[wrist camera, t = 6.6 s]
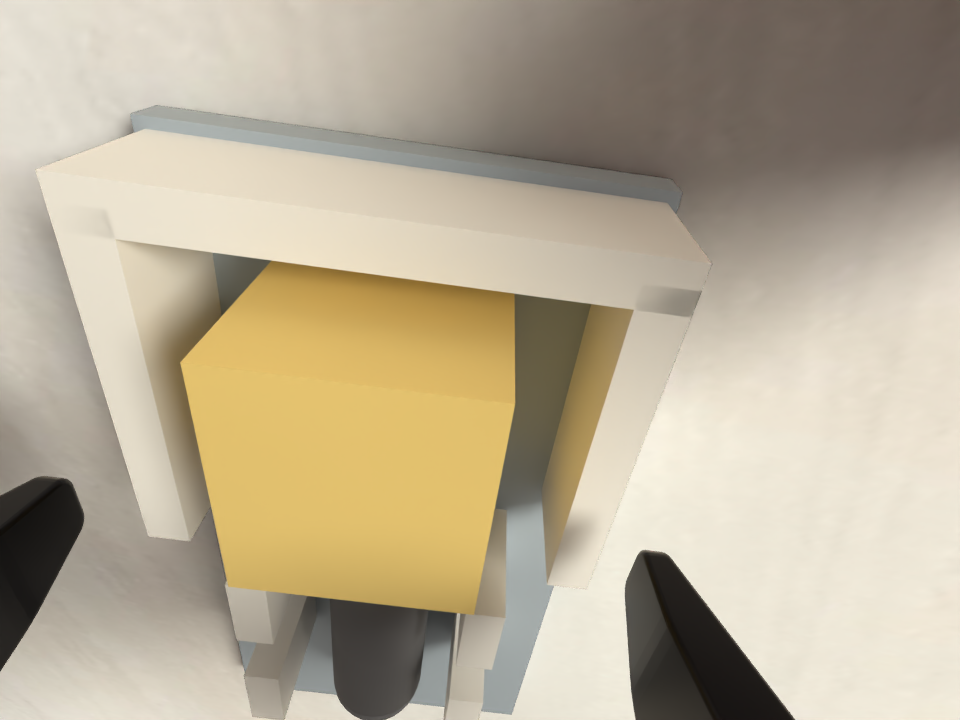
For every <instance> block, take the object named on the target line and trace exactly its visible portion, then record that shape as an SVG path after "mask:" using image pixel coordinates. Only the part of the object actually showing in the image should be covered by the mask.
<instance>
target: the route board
mask: <svg viewBox="0 0 960 720" xmlns="http://www.w3.org/2000/svg"><path fill="white" fill-rule="evenodd" d="M130 115H131V120H132V125H133V130H134V133H132V134H130V135H127V136H124V137H122V138H119V139H116V140H113V141H111V142H108V143H105V144H103V145H100V146H97V147H95V148H92V149H89V150H86V151H84V152H81V153H78V154H76V155H73V156H70V157H67V158H65V159H62V160H59V161H57V162H54V163H51V164H49V165H46V166H43V167H40V168H38V169H35V171H36V174H37V178H38V181H39V184H40V187H41V191H42V194H43V197H44V200H45V204H46V207H47V210H48V213H49V216H50V220H51V223H52V226H53V229H54V233H55V236H56V239H57V242H58V246H59V249H60V252H61V255H62V259H63V262H64V265H65V268H66V272H67V275H68V278H69V281H70V284H71V288H72V291H73V294H74V297H75V301H76V304H77V307H78V310H79V314H80V317H81V320H82V323H83V327H84V330H85V333H86V336H87V340H88V343H89V346H90V349H91V352H92V356H93V359H94V362H95V365H96V369H97V372H98V375H99V378H100V382H101V385H102V388H103V391H104V395H105V398H106V401H107V404H108V408H109V411H110V414H111V417H112V420H113V424H114V427H115V430H116V433H117V437H118V440H119V443H120V446H121V450H122V453H123V456H124V459H125V463H126V466H127V469H128V472H129V476H130V479H131V482H132V485H133V488H134V492H135V495H136V498H137V501H138V505H139V508H140V511H141V514H142V518H143V521H144V524H145V527H146V531H147V534H148V537H156V538H164V539H173V540H181V541H189V542H190V541H191V539H192V537H193V536H194V534H195V532H196V531H197V529H198V527H199V525H200V524H201V522H202V520H203V519H204V517H205V515H206V514H207V512H208V510H209V508H210V507H211V503H210V499H209V494H208V489H207V485H206V480H205V475H204V471H203V466H202V461H201V457H200V452H199V447H198V443H197V438H196V433H195V429H194V424H193V419H192V415H191V410H190V405H189V401H188V396H187V391H186V387H185V382H184V377H183V373H182V368H181V363H180V362H181V361H182V360H183V359H184V358H185V357H186V355H187V354H188V353H189V352H190V351H191V350H192V349H193V348H194V347H195V345H196V344H197V343H198V342H199V341H200V340H201V339H202V338H203V337H204V335H205V334H206V333H207V332H208V331H209V330H210V329H211V328H212V327H213V325H214V324H215V323H216V322H217V321H218V320H219V319H220V318H221V317H222V315H223V314H224V313H225V312H226V311H227V310H228V309H229V308H230V306H231V305H232V304H233V303H234V302H235V301H236V300H237V299H238V298H239V296H240V295H241V294H242V293H243V292H244V291H245V290H246V289H247V288H248V286H249V285H250V284H251V283H252V282H253V281H254V280H255V279H256V278H257V276H258V275H259V274H260V273H261V272H262V271H263V270H264V269H265V268H266V266H267V265H268V264H269V263H270V262H271V261H279V262H286V263H294V264H301V265H308V266H316V267H323V268H330V269H338V270H345V271H352V272H360V273H367V274H374V275H382V276H389V277H396V278H404V279H411V280H418V281H426V282H433V283H440V284H448V285H455V286H462V287H470V288H477V289H484V290H492V291H499V292H506V293H514V298H515V408H514V413H513V418H512V423H511V428H510V433H509V439H508V444H507V449H506V454H505V459H504V464H503V469H502V474H501V479H500V485H499V490H498V495H497V500H496V505H495V510H494V515H493V520H492V525H491V530H490V536H489V541H488V546H487V551H486V556H485V561H484V566H483V571H482V576H481V582H480V587H479V592H478V597H477V602H476V607H475V612H474V615H469V614H461V613H452V612H443V611H435V610H428V617H427V625H426V634H425V643H424V651H423V660H422V668H421V676H420V681H419V684H418V687H417V690H416V692H415V694H414V696H413V698H412V699H411V701H410V702H409V703H414V704H423V705H432V706H440V707H445V709H444V720H479V717H480V713H481V711H484V712H493V713H502V714H510V715H512V712H513V709H514V706H515V703H516V700H517V697H518V693H519V690H520V687H521V684H522V681H523V678H524V675H525V672H526V669H527V666H528V663H529V660H530V657H531V654H532V651H533V648H534V645H535V642H536V639H537V636H538V633H539V630H540V627H541V623H542V620H543V617H544V614H545V611H546V608H547V605H548V602H549V599H550V596H551V593H552V590H553V587H554V586H560V587H569V588H577V589H585V590H587V588H588V586H589V583H590V580H591V578H592V575H593V573H594V570H595V567H596V565H597V562H598V560H599V557H600V554H601V552H602V549H603V547H604V544H605V541H606V539H607V536H608V534H609V531H610V528H611V526H612V523H613V521H614V518H615V515H616V513H617V510H618V508H619V505H620V502H621V500H622V497H623V495H624V492H625V489H626V487H627V484H628V482H629V479H630V476H631V474H632V471H633V469H634V466H635V463H636V461H637V458H638V456H639V453H640V450H641V448H642V445H643V443H644V440H645V437H646V435H647V432H648V430H649V427H650V424H651V422H652V419H653V417H654V414H655V411H656V409H657V406H658V404H659V401H660V398H661V396H662V393H663V391H664V388H665V385H666V383H667V380H668V378H669V375H670V372H671V370H672V367H673V365H674V362H675V360H676V357H677V354H678V352H679V349H680V347H681V344H682V341H683V339H684V336H685V334H686V331H687V328H688V326H689V323H690V321H691V318H692V315H693V313H694V310H695V308H696V305H697V302H698V300H699V297H700V295H701V292H702V289H703V287H704V284H705V282H706V279H707V276H708V274H709V271H710V269H711V266H712V263H711V261H710V260H709V259H708V257H707V256H706V255H705V253H704V252H703V250H702V249H701V248H700V246H699V245H698V244H697V242H696V241H695V240H694V238H693V237H692V236H691V234H690V233H689V232H688V230H687V229H686V227H685V226H684V225H683V223H682V222H681V221H680V219H679V218H678V217H677V215H676V213H677V210H678V207H679V204H680V200H681V197H682V194H683V192H682V191H681V190H680V188H679V187H678V186H677V185H676V184H675V183H674V181H673V180H672V179H668V178H661V177H654V176H647V175H640V174H633V173H626V172H619V171H612V170H605V169H598V168H591V167H584V166H577V165H570V164H563V163H556V162H549V161H542V160H535V159H528V158H521V157H514V156H507V155H500V154H493V153H486V152H479V151H472V150H465V149H458V148H451V147H444V146H437V145H430V144H423V143H416V142H409V141H403V140H396V139H389V138H382V137H375V136H368V135H361V134H354V133H347V132H340V131H333V130H326V129H319V128H312V127H305V126H298V125H291V124H284V123H277V122H270V121H263V120H256V119H249V118H242V117H235V116H228V115H221V114H214V113H207V112H200V111H193V110H186V109H179V108H172V107H165V106H158V105H156V106H153V107H150V108H147V109H143V110H140V111H137V112H134V113H131V114H130ZM211 510H212V508H211ZM212 515H213V513H212ZM213 520H214V517H213ZM214 525H215V522H214ZM215 530H216V527H215ZM216 535H217V531H216ZM217 539H218V536H217ZM218 544H219V541H218ZM219 549H220V545H219ZM220 554H221V550H220ZM221 559H222V555H221ZM222 564H223V559H222ZM223 569H224V564H223ZM224 574H225V578H226V573H225V569H224ZM225 588H226V593H227V597H228V602H229V607H230V612H231V617H232V621H233V626H234V631H235V636H236V640H238V642H239V647H240V652H241V656H242V661H243V666H244V671H245V674H244V679H245V684H246V689H247V693H248V698H249V703H250V708H251V713H252V717H259V718H268V719H277V720H284V719H285V716H286V713H287V710H288V707H289V703H290V700H291V697H292V694H293V691H294V690H300V691H309V692H318V693H326V694H335V695H337V693H336V689H335V685H334V676H333V656H332V635H331V615H330V598H322V597H313V596H304V595H296V594H287V593H278V592H270V591H261V590H252V589H244V588H235V587H228V583H227V578H226V583H225Z"/></svg>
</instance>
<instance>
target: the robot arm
mask: <svg viewBox="0 0 960 720" xmlns="http://www.w3.org/2000/svg"><path fill="white" fill-rule="evenodd" d="M83 523H84V512H83V509H82V507H81V504H80V502H79V499H78V497H77V494H76V491H75V489H74V486H73V484H72V483H71V482H70V481H69V480H68V479H64V478H57V477H48V476H41V477H37V478H34V479H32V480H30V481H28V482H26V483H24V484H22V485H20V486H18V487H16V488H14V489H12V490H10V491H9V492H7V493H5V494H3V495H1V496H0V671H1V670H2V668H3V667H4V665H5V664H6V662H7V660H8V659H9V657H10V656H11V654H12V653H13V651H14V650H15V648H16V647H17V645H18V644H19V642H20V641H21V639H22V638H23V636H24V634H25V633H26V631H27V630H28V628H29V626H30V625H31V623H32V621H33V620H34V618H35V616H36V614H37V613H38V611H39V609H40V607H41V605H42V604H43V602H44V600H45V598H46V596H47V594H48V592H49V590H50V588H51V586H52V585H53V583H54V581H55V579H56V577H57V575H58V573H59V571H60V569H61V567H62V566H63V564H64V562H65V560H66V558H67V556H68V554H69V552H70V550H71V548H72V547H73V545H74V543H75V541H76V539H77V537H78V535H79V533H80V531H81V529H82V526H83ZM625 605H626V621H627V636H628V651H629V667H630V680H631V692H632V699H633V706H634V712H635V718H636V720H795V719H794V718H793V716H792V715H791V714H790V712H789V711H788V710H787V708H786V707H785V706H784V705H783V703H782V702H781V701H780V699H779V698H778V697H777V695H776V694H775V693H774V692H773V690H772V689H771V688H770V686H769V685H768V684H767V682H766V681H765V680H764V678H763V677H762V676H761V675H760V673H759V672H758V671H757V669H756V668H755V667H754V665H753V664H752V663H751V662H750V660H749V659H748V658H747V656H746V655H745V654H744V652H743V651H742V650H741V649H740V647H739V646H738V645H737V643H736V642H735V641H734V639H733V638H732V637H731V636H730V634H729V633H728V632H727V630H726V629H725V628H724V626H723V625H722V624H721V623H720V621H719V620H718V619H717V617H716V616H715V615H714V613H713V612H712V611H711V610H710V608H709V607H708V606H707V604H706V603H705V602H704V600H703V599H702V598H701V596H700V595H699V594H698V593H697V591H696V590H695V589H694V587H693V586H692V585H691V583H690V582H689V581H688V580H687V578H686V577H685V576H684V574H683V573H682V572H681V570H680V569H679V568H678V567H677V565H676V564H675V563H674V561H673V560H672V559H671V558H670V556H668V555H667V554H666V553H663V552H657V551H649V550H642V551H641V552H639V554H638V555H637V558H636V560H635V562H634V564H633V567H632V569H631V571H630V573H629V576H628V578H627V581H626V585H625Z"/></svg>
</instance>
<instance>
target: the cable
mask: <svg viewBox="0 0 960 720" xmlns="http://www.w3.org/2000/svg"><path fill="white" fill-rule="evenodd" d="M180 363H181V368H182V373H183V377H184V382H185V387H186V391H187V396H188V401H189V405H190V410H191V415H192V419H193V424H194V429H195V433H196V438H197V443H198V447H199V452H200V457H201V461H202V466H203V471H204V475H205V480H206V485H207V489H208V494H209V499H210V503H211V508H212V513H213V517H214V522H215V527H216V531H217V536H218V541H219V545H220V550H221V555H222V559H223V564H224V569H225V573H226V578H227V583H228V587H235V588H244V589H252V590H261V591H270V592H278V593H287V594H296V595H304V596H313V597H322V598H330V615H331V635H332V656H333V676H334V685H335V689H336V693H337V696H338V698H339V700H340V702H341V704H342V705H343V706H344V707H345V709H346V710H347V711H349V712H350V713H351V714H352V715H354V716H355V717H358V718H360V719H362V720H385V719H388V718H390V717H393V716H394V715H396V714H397V713H399V712H400V711H401V710H402V709H403V708H404V707H405V706H406V705H407V704H408V703H409V702H410V701H411V699H412V698H413V696H414V694H415V692H416V690H417V687H418V684H419V681H420V676H421V668H422V660H423V651H424V643H425V634H426V625H427V617H428V610H435V611H443V612H452V613H461V614H469V615H474V612H475V607H476V602H477V597H478V592H479V587H480V582H481V576H482V571H483V566H484V561H485V556H486V551H487V546H488V541H489V536H490V530H491V525H492V520H493V515H494V510H495V505H496V500H497V495H498V490H499V485H500V479H501V474H502V469H503V464H504V459H505V454H506V449H507V444H508V439H509V433H510V428H511V423H512V418H513V413H514V408H515V298H514V293H506V292H499V291H492V290H484V289H477V288H470V287H462V286H455V285H448V284H440V283H433V282H426V281H418V280H411V279H404V278H396V277H389V276H382V275H374V274H367V273H360V272H352V271H345V270H338V269H330V268H323V267H316V266H308V265H301V264H294V263H286V262H279V261H271V262H270V263H269V264H268V265H267V266H266V268H265V269H264V270H263V271H262V272H261V273H260V274H259V275H258V276H257V278H256V279H255V280H254V281H253V282H252V283H251V284H250V285H249V286H248V288H247V289H246V290H245V291H244V292H243V293H242V294H241V295H240V296H239V298H238V299H237V300H236V301H235V302H234V303H233V304H232V305H231V306H230V308H229V309H228V310H227V311H226V312H225V313H224V314H223V315H222V317H221V318H220V319H219V320H218V321H217V322H216V323H215V324H214V325H213V327H212V328H211V329H210V330H209V331H208V332H207V333H206V334H205V335H204V337H203V338H202V339H201V340H200V341H199V342H198V343H197V344H196V345H195V347H194V348H193V349H192V350H191V351H190V352H189V353H188V354H187V355H186V357H185V358H184V359H183V360H182V361H181V362H180Z"/></svg>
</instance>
